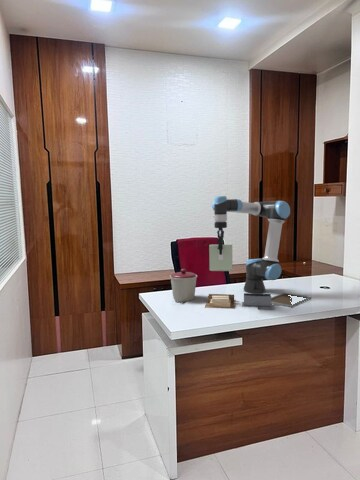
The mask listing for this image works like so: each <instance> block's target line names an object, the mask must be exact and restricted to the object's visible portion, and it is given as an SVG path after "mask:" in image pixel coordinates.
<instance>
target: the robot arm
mask: <svg viewBox="0 0 360 480" xmlns="http://www.w3.org/2000/svg"><path fill="white" fill-rule="evenodd" d="M213 200H214V201H213V202H212V203H211V208H212V210H213V212H214V213H213V214H214V215H213V218H214V224H213V225H214V228H215V229H217V232H216V233H217V241H218V244H217V245H218V248H217V249H218V256H219V260H223V245H224V238H225V237H224V236H225V235H224V234H225V231H224V230H223V229H227V226H228V222H227V220H228V218H227V217H228V213H239V214H240V213H241V214H249V215H253V216H255V217H258V216H259V217H262V218H267V221H268V229H267V230H268V231H267V237H266V243H265V244H266V245H265V250H264V256H263V257H262V258H251V259H246V263H245V271H246V272H245V273H246V274H245V275H246V276H245V277H246V279H245V283H244V286H243V292H244V293H256V294H264V293H265V292H266V287H265V283H264V280H267V281H276V280H277V279H279V278H280V276H281V274H282V267H281V265H280V264H279V263H280V261H279V259H278V255H279V248H280V241H281V235H282V228H283V224H284V223H285V222H286V219H287V218H289V216H290V215H291V206H290V205H289V204H288V203H287V202H286V201H284V200H269V201H267V200H266V201H254V202H247V201H243V200H241V199H238V198H232V199H229V198H227V196H226V195H220V196H219V195H218V196H214V199H213Z"/></svg>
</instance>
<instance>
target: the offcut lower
mask: <svg viewBox="0 0 360 480" xmlns="http://www.w3.org/2000/svg"><path fill="white" fill-rule="evenodd" d="M230 305H231V300H229V303H212V299H211V301H210V307H230Z"/></svg>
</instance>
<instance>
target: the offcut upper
mask: <svg viewBox="0 0 360 480" xmlns="http://www.w3.org/2000/svg"><path fill="white" fill-rule="evenodd" d="M212 303H229V296H212Z"/></svg>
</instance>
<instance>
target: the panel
mask: <svg viewBox="0 0 360 480" xmlns="http://www.w3.org/2000/svg"><path fill="white" fill-rule="evenodd" d="M208 247H209V248H208V252H209V260H208V261H209V271H211V272H233V244H223V260H219V256H218V249H217V248H218V244H209V246H208Z"/></svg>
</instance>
